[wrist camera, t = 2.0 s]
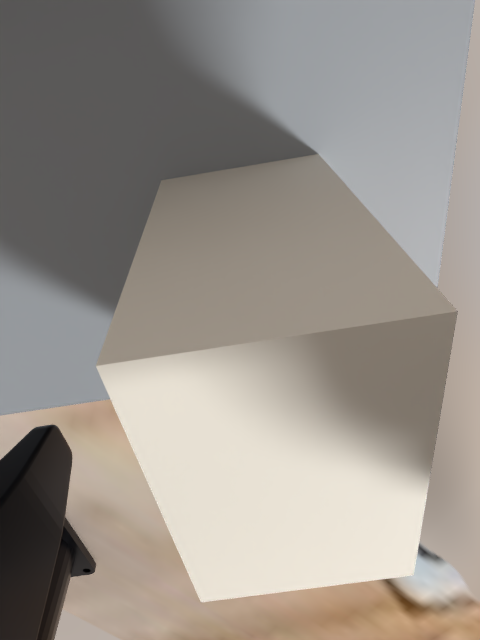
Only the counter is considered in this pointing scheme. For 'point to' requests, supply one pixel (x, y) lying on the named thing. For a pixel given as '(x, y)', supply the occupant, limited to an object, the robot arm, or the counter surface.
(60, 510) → the robot arm
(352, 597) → the counter surface
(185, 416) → the tea box
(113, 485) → the counter surface
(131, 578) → the counter surface
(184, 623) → the counter surface
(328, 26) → the shelf
